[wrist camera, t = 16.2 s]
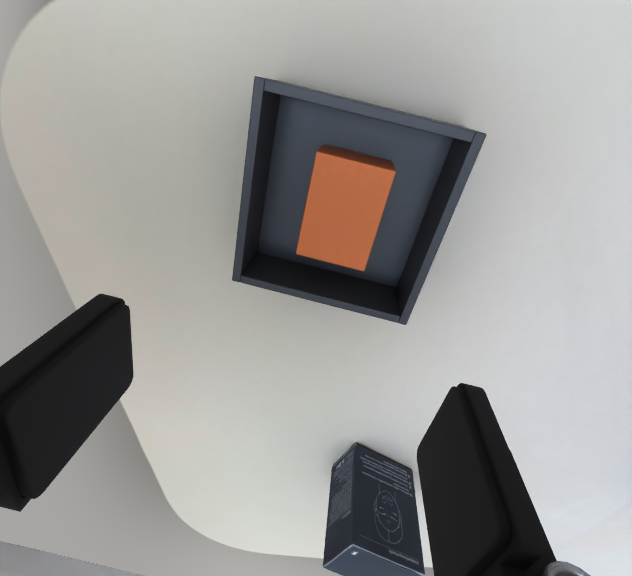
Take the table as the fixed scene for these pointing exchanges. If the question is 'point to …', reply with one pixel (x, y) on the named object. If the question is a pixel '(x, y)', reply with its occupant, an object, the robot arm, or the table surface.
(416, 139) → the tray
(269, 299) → the table surface
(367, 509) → the box
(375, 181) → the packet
